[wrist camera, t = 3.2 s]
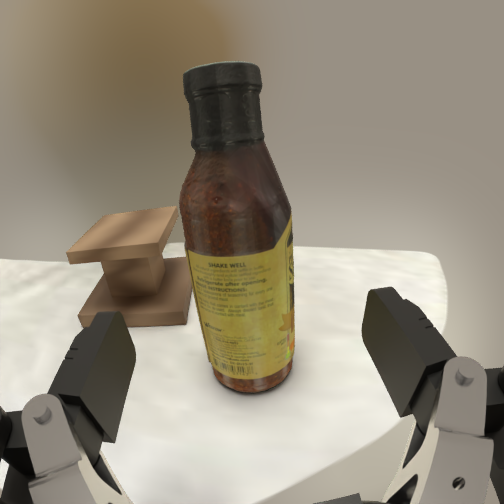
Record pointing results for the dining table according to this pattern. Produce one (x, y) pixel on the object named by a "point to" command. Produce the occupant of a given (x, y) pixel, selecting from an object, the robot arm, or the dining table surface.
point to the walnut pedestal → (135, 269)
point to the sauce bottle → (237, 231)
